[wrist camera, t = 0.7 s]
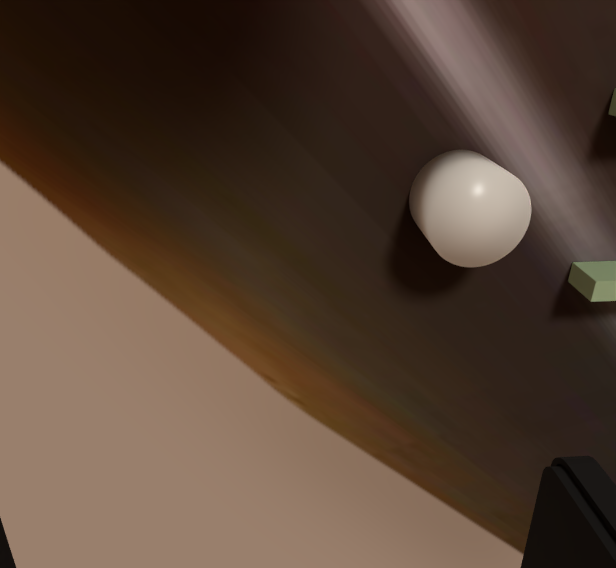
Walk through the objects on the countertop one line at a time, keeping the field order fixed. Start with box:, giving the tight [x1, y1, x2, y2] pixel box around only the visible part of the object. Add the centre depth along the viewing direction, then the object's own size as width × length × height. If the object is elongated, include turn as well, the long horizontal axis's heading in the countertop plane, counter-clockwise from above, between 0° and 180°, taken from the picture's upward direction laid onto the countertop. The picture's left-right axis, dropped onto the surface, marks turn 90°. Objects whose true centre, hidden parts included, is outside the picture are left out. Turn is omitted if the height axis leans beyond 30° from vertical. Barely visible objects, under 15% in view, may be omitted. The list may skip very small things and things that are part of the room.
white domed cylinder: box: [409, 150, 531, 267], centre depth 33 cm, size 6×6×4 cm
